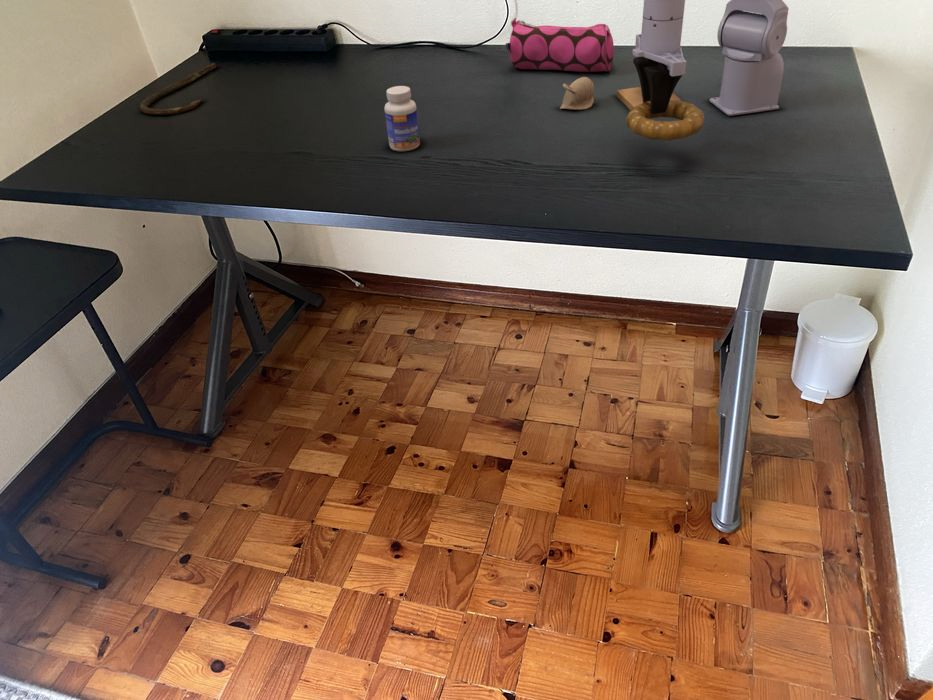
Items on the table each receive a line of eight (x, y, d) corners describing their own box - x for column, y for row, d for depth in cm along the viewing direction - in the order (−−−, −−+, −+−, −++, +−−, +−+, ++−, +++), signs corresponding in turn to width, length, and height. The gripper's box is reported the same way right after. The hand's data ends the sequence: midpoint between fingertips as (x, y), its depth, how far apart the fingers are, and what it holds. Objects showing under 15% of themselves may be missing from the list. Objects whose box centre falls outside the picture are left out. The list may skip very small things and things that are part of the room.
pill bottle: (396, 155, 124) (389, 98, 118) (384, 144, 128) (376, 88, 122) (425, 147, 126) (419, 90, 120) (413, 137, 130) (406, 81, 123)
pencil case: (505, 76, 151) (503, 25, 145) (516, 61, 158) (515, 11, 152) (608, 79, 146) (611, 26, 139) (615, 63, 153) (618, 12, 146)
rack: (661, 90, 139) (664, 56, 135) (680, 106, 132) (684, 71, 128) (616, 96, 138) (618, 62, 134) (633, 113, 131) (635, 78, 127)
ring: (684, 109, 116) (686, 93, 114) (715, 136, 107) (718, 119, 106) (616, 119, 115) (617, 102, 113) (642, 147, 106) (644, 129, 104)
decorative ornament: (600, 103, 136) (602, 74, 133) (568, 116, 132) (569, 86, 129) (584, 98, 138) (585, 69, 135) (553, 111, 135) (553, 81, 131)
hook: (135, 119, 146) (132, 112, 145) (163, 73, 169) (160, 66, 168) (198, 113, 147) (196, 105, 146) (217, 67, 170) (215, 61, 169)
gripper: (619, 6, 110) (614, 96, 119) (655, 32, 99) (647, 129, 107) (663, 1, 111) (655, 90, 119) (705, 26, 100) (692, 122, 108)
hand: (654, 108), depth 113 cm, fingers closed on ring, 3 cm apart
